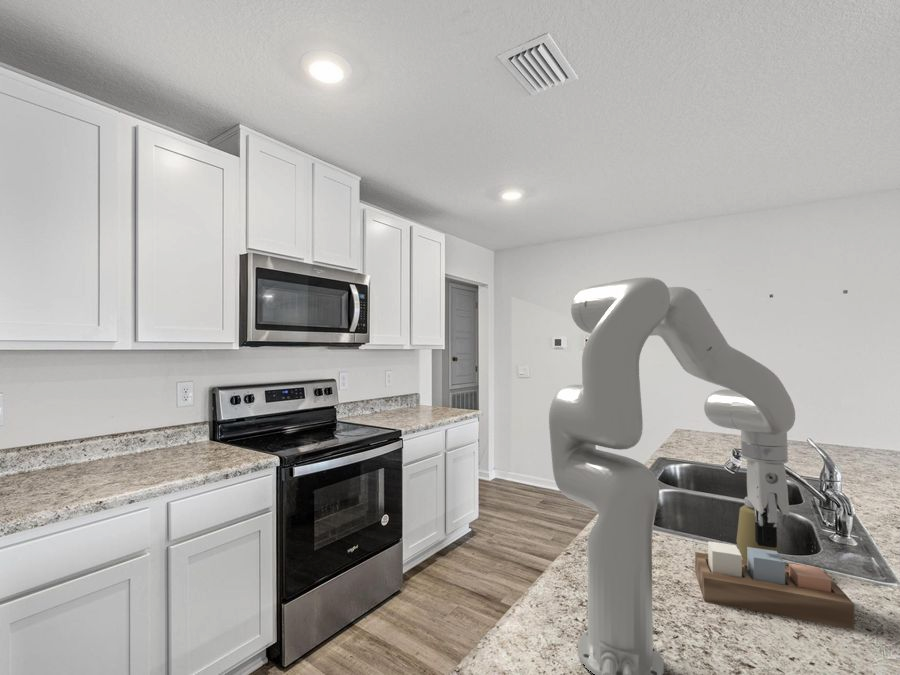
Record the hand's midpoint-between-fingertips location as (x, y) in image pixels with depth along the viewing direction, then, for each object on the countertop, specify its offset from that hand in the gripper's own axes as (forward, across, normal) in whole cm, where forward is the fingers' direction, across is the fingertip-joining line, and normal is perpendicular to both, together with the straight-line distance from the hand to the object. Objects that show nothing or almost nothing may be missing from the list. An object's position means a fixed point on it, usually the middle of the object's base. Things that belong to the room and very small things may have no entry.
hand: (766, 544), depth 87 cm
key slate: (+7, 0, 0) cm, 7 cm away
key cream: (+7, 0, +7) cm, 10 cm away
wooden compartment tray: (+10, 0, 0) cm, 10 cm away
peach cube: (+9, 0, -7) cm, 11 cm away
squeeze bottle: (+11, +17, -2) cm, 20 cm away
